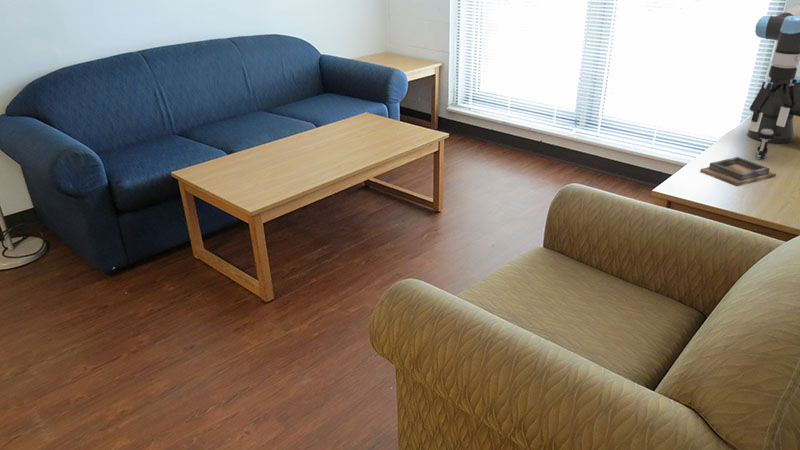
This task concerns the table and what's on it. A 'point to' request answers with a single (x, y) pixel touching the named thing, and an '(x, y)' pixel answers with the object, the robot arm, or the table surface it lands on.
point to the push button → (764, 142)
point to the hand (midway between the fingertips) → (766, 128)
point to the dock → (737, 171)
